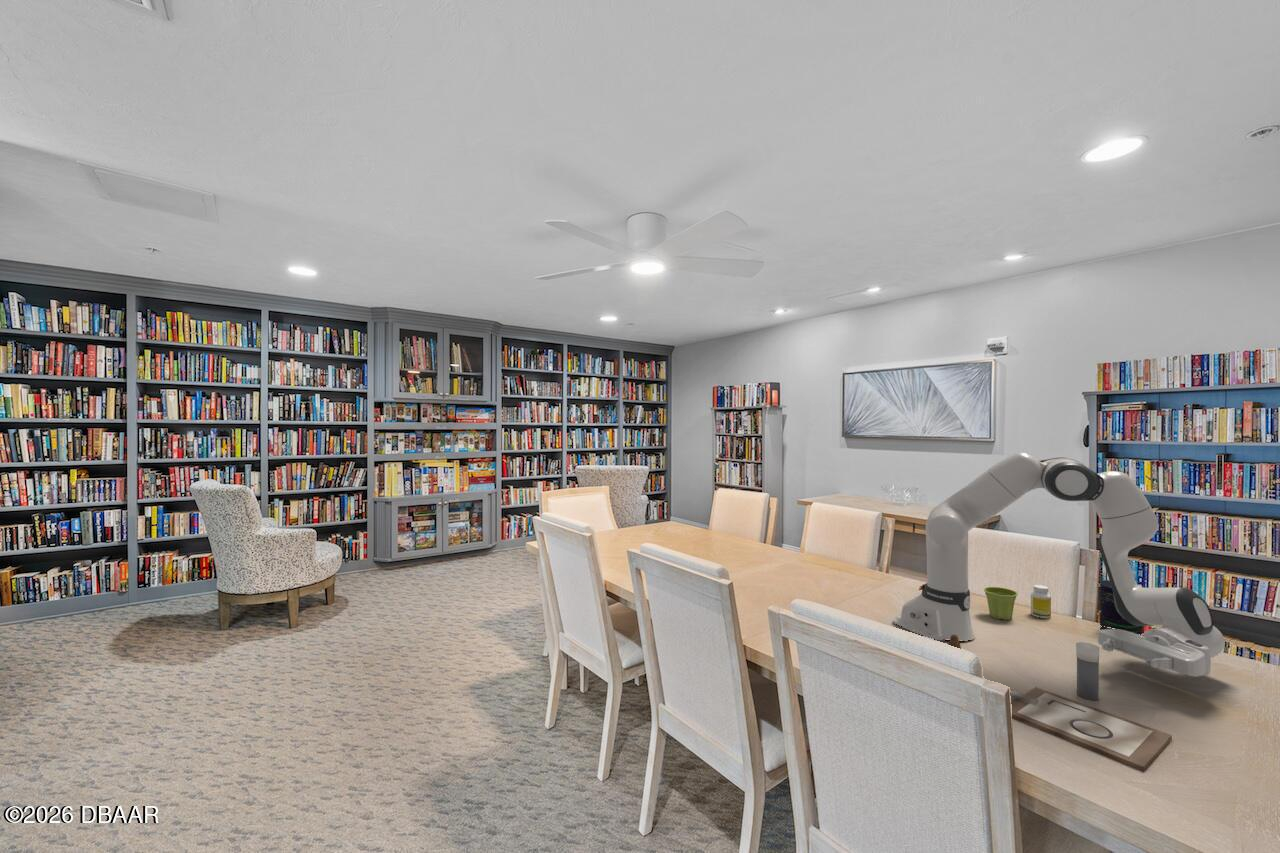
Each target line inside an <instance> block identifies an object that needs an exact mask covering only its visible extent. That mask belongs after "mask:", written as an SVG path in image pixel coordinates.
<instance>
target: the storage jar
mask: <svg viewBox="0 0 1280 853" xmlns="http://www.w3.org/2000/svg"><path fill="white" fill-rule="evenodd" d="M1098 593H1099V601H1100V612H1099V614H1098V617H1099V620H1098V622H1099V626H1100V625H1101V626H1102V627H1101V626H1100V628H1099V630H1104V629H1112V628H1115V629H1121V630H1126V631H1129V632H1132V633H1135V634H1138V635H1139V634H1140V635H1143V630H1144V626H1135V625H1133V624H1131V623H1129V622H1128V621H1126V620H1125V619H1124V618H1123V617H1122V616H1121V615H1120V614H1119V613H1118V612H1117V610H1116V607H1115V603H1114V594H1113V590H1112V586H1111V583H1110V580H1101V581H1100V582H1099V592H1098ZM1104 626H1105V627H1104ZM1107 627H1111V628H1107Z"/></svg>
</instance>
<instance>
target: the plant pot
mask: <svg viewBox="0 0 1280 853" xmlns="http://www.w3.org/2000/svg"><path fill="white" fill-rule="evenodd" d="M983 591H984V594H985V596H986V600H987V606H988V612H989V616H990V617H992V618H994V619H996V620H1004V621H1009V620H1012V619H1013V613H1014V607H1015V603H1016V599H1017V596H1019V594H1018V593H1019V592H1017V591H1015V590H1014V589H1011V588H1005V587H1002V586H1001V587H1000V586H988V587H987V586H986V587H984V588H983Z"/></svg>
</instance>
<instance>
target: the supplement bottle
mask: <svg viewBox="0 0 1280 853" xmlns="http://www.w3.org/2000/svg"><path fill="white" fill-rule="evenodd" d="M1032 587H1033V591H1031V593H1030V615H1032V616H1033V617H1035V616H1036V618H1039V617H1040V619H1050V618H1051V617H1052V613H1051V612H1052V596H1051V595H1050V593H1049V587H1048V586H1046V585H1041V584H1034V585H1033V586H1032Z"/></svg>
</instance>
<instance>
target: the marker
mask: <svg viewBox="0 0 1280 853" xmlns="http://www.w3.org/2000/svg"><path fill="white" fill-rule="evenodd" d="M1075 648H1076V650H1075V656H1076V695H1077V696H1078V697H1080V698H1082V699H1084V700H1089V701H1098V700H1100V699H1099V698H1100V696H1099V694H1100V693H1099V688H1100V686H1099V684H1100V682H1099V681H1100V680H1099V679H1100V678H1099V677H1100V676H1099V675H1100V674H1099V672H1100V669H1099V668H1100V663H1099V662H1100V647H1099V646H1097V645H1095V644H1093V643H1090V642H1089V643H1088V642H1085V641H1084V642H1082V641H1081V642H1080V641H1078V642H1076V644H1075Z"/></svg>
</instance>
